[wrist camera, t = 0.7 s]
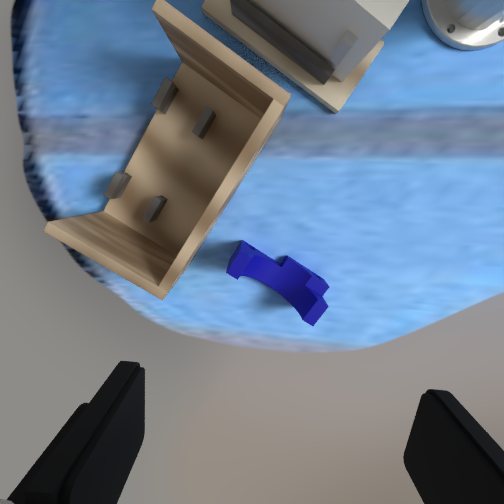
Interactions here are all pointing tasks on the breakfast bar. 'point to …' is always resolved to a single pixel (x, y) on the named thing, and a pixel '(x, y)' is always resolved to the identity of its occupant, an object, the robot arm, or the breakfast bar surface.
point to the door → (335, 26)
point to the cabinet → (180, 162)
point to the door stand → (286, 51)
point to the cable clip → (282, 280)
